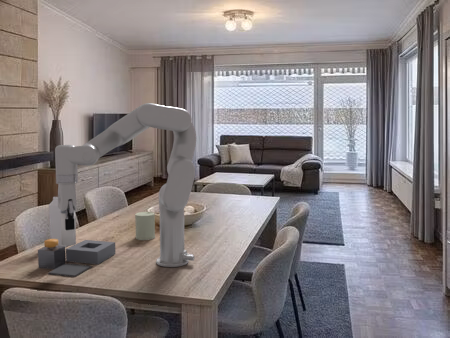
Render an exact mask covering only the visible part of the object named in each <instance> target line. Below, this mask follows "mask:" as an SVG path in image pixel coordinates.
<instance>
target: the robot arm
mask: <svg viewBox="0 0 450 338" xmlns="http://www.w3.org/2000/svg"><path fill="white" fill-rule="evenodd" d="M149 128H153V129H158V130H166V131H172V133H173V144H172V149H171V152H170V155H169V156H170V157H169V159H168V162H167V166H166V172H167V174H168V175H167V180H166V183H164V184H163V185H162V186H161V187H160V189H159V192H158V207H159V208H158V209H159V255H160V256H159V257H158V258H157V259H156V261H155V263H156V264H157V265H158V266H160V267H164V268H178V267H183V266H185V265H188V263H189V261H192V262H193V261H195V256H194V254H193V253H188V250H187V249H185V208H186V206H187V205H188V202H189V200H190V196H191V192H192V188H193V184H194V181H195V177H196V167H195V165H194V163H193V157H194V154H195V149H196V145H197V132H196V129H195V126H194V123H193V122H192V115H191V114H190V112H189V111H188V110H186V109H184V108H182V107H181V108H180V107H174V106H165V105H161V104H157V103H151V102H150V103H149V102H147V103H143V104H140V105H139V106H138V107H136V108H135V109H133V110H132V111H130V112H129V113H128V114H125V115H124V116H123V117H121V118H120V119H118V120H117V121H115V122H114V123H112V124H111V125H109V126H108V127H107V128H106V129H105V130H104V131H102V132H100V133H99V134H97V135H96V136H95V137H93V138H91V139H90V140H89V141H87V142H85V143H84V144H82V145H74V144H59V145H57V146H56V147H55V150H54V152H55V153H54V155H55V158H54V159H55V184H56V185H57V186H58V187H57V197H58V208H59V209H60V210H61V211H63V212H64V210H65V213H66V219H65V229H66V230H74V229H75V227H76V218H75V219H74V211H75V212H76V209H77V191H76V190H77V189H76V185H77V184H78V183H79V179H78V178H79V176H78V175H79V173H78V172H79V171H78V170H79V169H78V167H79V166H93V165H95V164H96V163H97V162H98V161H99V159H100V158H101V157H103V156H104V155H106V154H107V153H108V152H110V151H112V150H113V149H115V148H117V147H120V146H123V145H126V143H128V142H131V140H133V139H135V138H137V136H139V135H141V134H142V133H143V132H145V131H146V130H147V129H149ZM78 165H79V166H78ZM73 206H74V208H73ZM67 209H69V210H68V211H67ZM68 212H69V213H68Z"/></svg>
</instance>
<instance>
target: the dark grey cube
mask: <svg viewBox="0 0 450 338" xmlns="http://www.w3.org/2000/svg"><path fill="white" fill-rule="evenodd" d="M37 258H38V259H37V260H38V261H37V262H38V269H47V270H54V269H56V268H58V267H60V266H62V265H64V264H66V263H67V261H66V247H65V246H56V247H54V249H50V248H47V247H45V246H43V247H42V248H39V249H37Z"/></svg>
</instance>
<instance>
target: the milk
mask: <svg viewBox="0 0 450 338" xmlns="http://www.w3.org/2000/svg"><path fill="white" fill-rule="evenodd" d="M48 215H49V216H48V217H49V219H48V220H49V237H50V238H49V239H58V246H63V245H62V238H61V210H60V209H59V208H58V196H53V197H52V201H51V202H50V203H49V205H48ZM66 247H68V246H65V248H66Z"/></svg>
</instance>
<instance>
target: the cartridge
mask: <svg viewBox="0 0 450 338" xmlns="http://www.w3.org/2000/svg"><path fill="white" fill-rule="evenodd" d="M73 208H74V206H73ZM68 210H69V209H67V211H68ZM68 213H69V212H68ZM65 219H66V213H65V210H64V212H63V211H61V238H62V245H63V246H67V247H71V246H73V245H76V244H77V238H76V237H77V234H76V231H77V230H76V228H77V227H76V226H75V229H74V230H66V229H65ZM74 219H75V220H76V210H75V211H74Z"/></svg>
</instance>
